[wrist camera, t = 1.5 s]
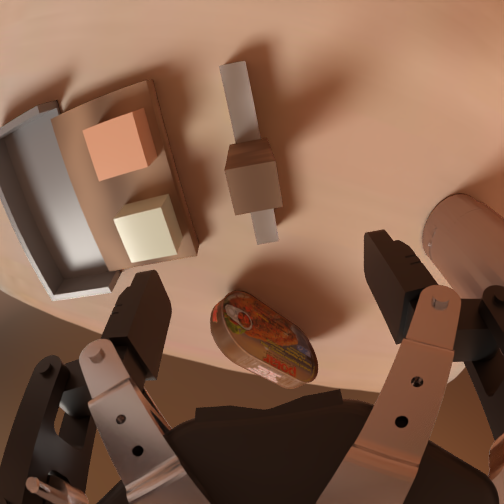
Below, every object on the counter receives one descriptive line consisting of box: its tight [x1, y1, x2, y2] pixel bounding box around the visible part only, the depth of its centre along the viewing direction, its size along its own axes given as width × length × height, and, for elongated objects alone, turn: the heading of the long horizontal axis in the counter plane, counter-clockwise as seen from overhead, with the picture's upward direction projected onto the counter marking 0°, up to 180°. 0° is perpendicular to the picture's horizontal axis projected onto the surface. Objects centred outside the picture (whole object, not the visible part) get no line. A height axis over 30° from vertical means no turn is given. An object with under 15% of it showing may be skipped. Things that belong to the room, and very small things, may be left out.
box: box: [0, 100, 121, 301], centre depth 27 cm, size 9×20×4 cm, turn 11°
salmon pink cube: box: [82, 108, 158, 181], centre depth 23 cm, size 4×4×3 cm
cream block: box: [113, 194, 183, 263], centre depth 27 cm, size 4×4×3 cm
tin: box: [210, 291, 318, 389], centre depth 34 cm, size 15×3×8 cm, turn 47°
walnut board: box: [51, 80, 199, 272], centre depth 27 cm, size 10×17×2 cm, turn 11°
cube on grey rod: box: [219, 61, 283, 245], centre depth 23 cm, size 3×16×10 cm, turn 11°
